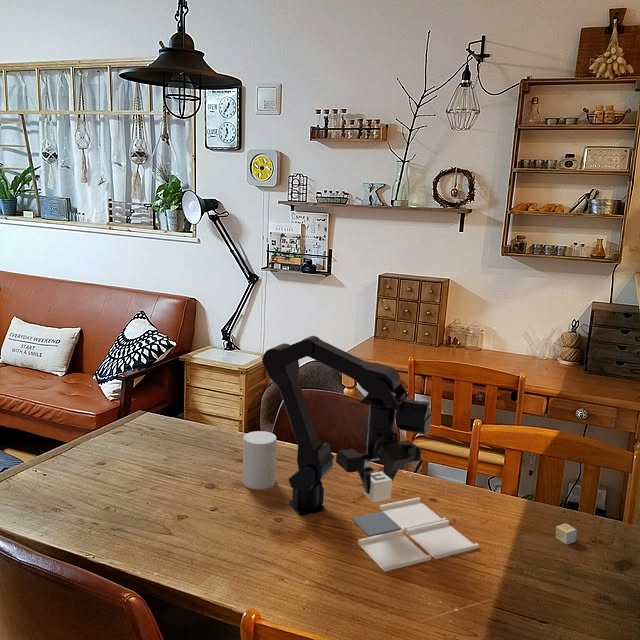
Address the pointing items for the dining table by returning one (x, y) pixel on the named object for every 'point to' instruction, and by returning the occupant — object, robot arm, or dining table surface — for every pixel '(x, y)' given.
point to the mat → (375, 523)
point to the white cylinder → (259, 460)
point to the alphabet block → (566, 533)
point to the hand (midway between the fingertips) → (376, 491)
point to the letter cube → (379, 487)
